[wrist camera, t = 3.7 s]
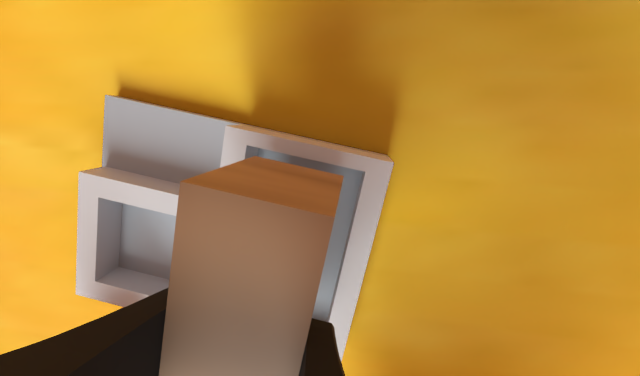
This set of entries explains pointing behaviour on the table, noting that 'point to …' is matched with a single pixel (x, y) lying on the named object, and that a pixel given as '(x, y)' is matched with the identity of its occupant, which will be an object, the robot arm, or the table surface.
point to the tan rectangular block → (246, 268)
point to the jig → (194, 159)
